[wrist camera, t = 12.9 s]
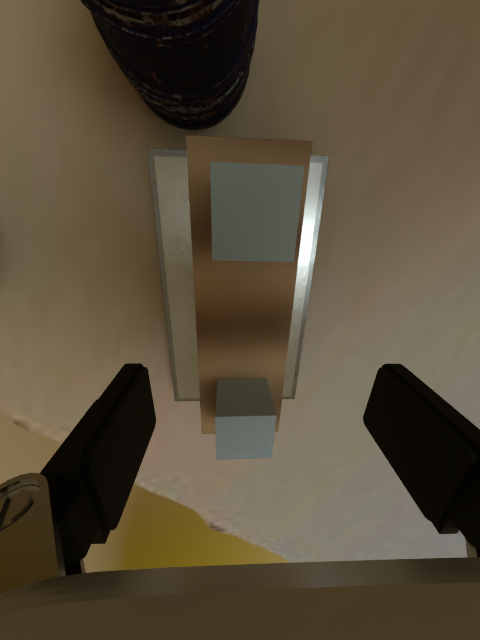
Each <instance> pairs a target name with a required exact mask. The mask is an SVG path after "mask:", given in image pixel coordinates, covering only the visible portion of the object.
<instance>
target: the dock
mask: <svg viewBox="0 0 480 640" xmlns="http://www.w3.org/2000/svg"><path fill="white" fill-rule="evenodd" d="M147 153H148V162H149V171H150V180H151V189H152V198H153V207H154V216H155V225H156V235H157V244H158V253H159V262H160V271H161V280H162V289H163V298H164V307H165V316H166V326H167V335H168V344H169V353H170V362H171V371H172V380H173V389H174V398H175V401H200V389H199V370H198V352H197V334H196V315H195V297H194V278H193V260H192V242H191V223H190V205H189V186H188V168H187V150H172V149H149V148H147ZM328 162H329V156H311V158H310V167H309V175H308V184H307V192H306V200H305V209H304V217H303V226H302V234H301V243H300V251H299V260H298V268H297V276H296V285H295V293H294V302H293V310H292V319H291V327H290V335H289V344H288V352H287V361H286V369H285V378H284V386H283V395H282V399H295V392H296V385H297V378H298V371H299V364H300V357H301V350H302V343H303V336H304V329H305V322H306V315H307V308H308V301H309V294H310V288H311V281H312V274H313V267H314V260H315V253H316V246H317V239H318V232H319V225H320V218H321V211H322V204H323V197H324V190H325V183H326V176H327V169H328Z"/></svg>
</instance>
